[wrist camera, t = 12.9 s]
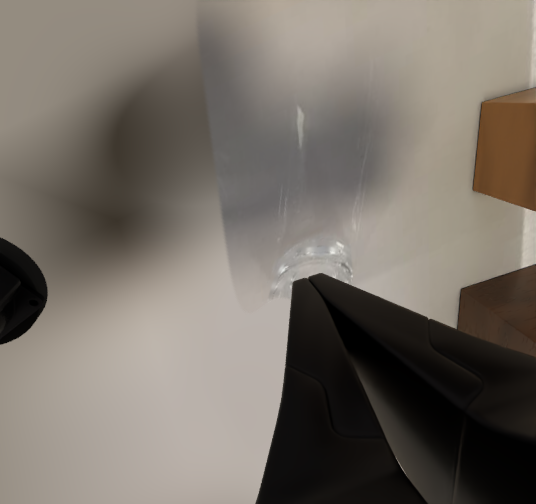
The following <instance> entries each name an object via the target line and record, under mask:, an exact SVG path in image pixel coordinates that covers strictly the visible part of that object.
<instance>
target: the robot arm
mask: <svg viewBox="0 0 536 504" xmlns="http://www.w3.org/2000/svg"><path fill="white" fill-rule="evenodd" d="M32 299H34V300H37V302H33V301H32ZM44 302H45V298H44V296H43V295H42V294H40V293H39V292H37V291H36V290H34V289H33V288H31V287H30V286H29V285H27V284H26V283H24V282H23V281H21V280H20V279H18V278H17V277H16V276H14V275H13V274H11V273H10V272H8V271H7V270H5V269H4V268H2V267H1V266H0V339H1V338H2V337H3V336H5V335H6V334H7V333H8V332H10V331H11V330H12V329H14V328H15V327H16V326H17V325H19V324H20V323H21V322H23V321H24V320H25V319H26V318H28V317H29V316H30V315H32V314H33V313H34V312H35V311H37V310H38V309H39V308H41V306H42V305H43V304H44ZM285 366H286V367H285V373H284V383H283V391H282V398H281V403H280V408H279V413H278V418H277V422H276V427H275V431H274V435H273V438H272V443H271V447H270V451H269V455H268V459H267V463H266V467H265V471H264V475H263V479H262V483H261V487H260V491H259V494H258V497H257V500H256V504H536V357H534V356H531V355H528V354H525V353H522V352H519V351H516V350H513V349H510V348H507V347H504V346H501V345H498V344H496V343H493V342H490V341H487V340H484V339H481V338H479V337H476V336H473V335H470V334H467V333H465V332H462V331H460V330H457V329H455V328H452V327H450V326H447V325H445V324H442V323H440V322H438V321H435V320H433V319H429V320H428V318H427V317H425V316H423V315H421V314H418V313H416V312H413V311H411V310H409V309H406V308H404V307H402V306H399V305H397V304H394V303H392V302H390V301H387V300H385V299H383V298H380V297H378V296H375V295H373V294H371V293H368V292H366V291H363V290H361V289H359V288H356V287H354V286H352V285H349V284H347V283H344V282H342V281H340V280H337V279H335V278H332V277H330V276H328V275H325V274H323V273H319V274H316V275H313V276H309V277H308V279H307V278H303V279H300V280H296V281H294V282H293V286H292V297H291V308H290V319H289V330H288V342H287V353H286V364H285ZM396 458H397V459H396ZM397 460H398V461H397ZM398 462H399V463H400V465H401V466H400V465H399V463H398ZM401 467H402V468H403V470H404V471H403V470H402V468H401ZM404 472H405V473H406V474H405V473H404ZM406 475H407V476H406Z"/></svg>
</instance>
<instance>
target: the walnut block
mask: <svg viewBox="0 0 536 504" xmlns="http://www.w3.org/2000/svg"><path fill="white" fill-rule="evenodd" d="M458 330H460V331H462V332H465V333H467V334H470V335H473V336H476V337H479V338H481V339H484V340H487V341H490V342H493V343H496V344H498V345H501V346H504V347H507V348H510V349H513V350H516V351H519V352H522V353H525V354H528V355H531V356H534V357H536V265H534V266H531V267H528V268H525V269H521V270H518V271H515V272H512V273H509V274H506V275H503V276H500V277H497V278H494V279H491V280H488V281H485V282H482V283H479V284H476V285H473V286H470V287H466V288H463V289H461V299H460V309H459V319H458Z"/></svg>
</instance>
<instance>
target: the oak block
mask: <svg viewBox="0 0 536 504" xmlns="http://www.w3.org/2000/svg"><path fill="white" fill-rule="evenodd" d="M473 190H474V191H476V192H479V193H482V194H485V195H488V196H491V197H494V198H497V199H500V200H503V201H506V202H509V203H512V204H515V205H518V206H521V207H524V208H527V209H530V210H533V211H536V88H532V89H529V90H525V91H521V92H518V93H514V94H510V95H507V96H503V97H499V98H496V99H492V100H488V101H485V102H482V109H481V119H480V128H479V138H478V148H477V158H476V168H475V177H474V187H473Z"/></svg>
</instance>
